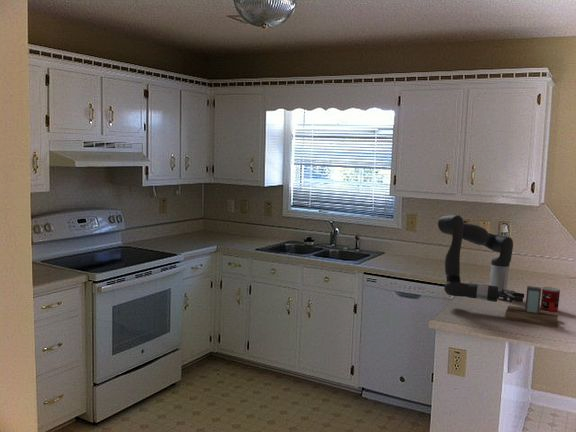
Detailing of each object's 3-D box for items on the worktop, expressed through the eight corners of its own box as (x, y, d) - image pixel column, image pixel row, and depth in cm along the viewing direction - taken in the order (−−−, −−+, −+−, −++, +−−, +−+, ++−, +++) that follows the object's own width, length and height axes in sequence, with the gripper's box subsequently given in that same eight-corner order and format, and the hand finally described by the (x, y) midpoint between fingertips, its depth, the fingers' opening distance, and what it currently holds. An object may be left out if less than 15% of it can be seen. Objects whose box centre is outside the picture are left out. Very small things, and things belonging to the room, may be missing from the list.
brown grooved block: (507, 312, 279) (508, 305, 279) (557, 320, 270) (558, 312, 269) (505, 319, 268) (505, 311, 267) (556, 327, 258) (557, 319, 258)
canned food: (537, 307, 292) (540, 286, 290) (553, 308, 291) (555, 287, 290) (544, 311, 284) (546, 290, 283) (560, 312, 284) (562, 290, 282)
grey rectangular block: (524, 314, 271) (527, 285, 270) (538, 316, 269) (541, 287, 267) (524, 316, 268) (527, 287, 267) (538, 318, 266) (541, 288, 264)
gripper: (486, 288, 269) (523, 293, 263) (489, 282, 282) (525, 287, 275) (485, 303, 270) (521, 309, 263) (488, 297, 283) (523, 302, 276)
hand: (523, 297), depth 269 cm, fingers open, 8 cm apart
